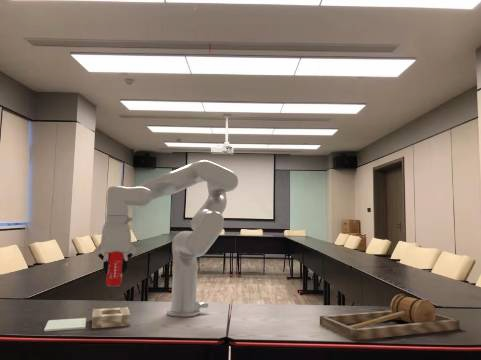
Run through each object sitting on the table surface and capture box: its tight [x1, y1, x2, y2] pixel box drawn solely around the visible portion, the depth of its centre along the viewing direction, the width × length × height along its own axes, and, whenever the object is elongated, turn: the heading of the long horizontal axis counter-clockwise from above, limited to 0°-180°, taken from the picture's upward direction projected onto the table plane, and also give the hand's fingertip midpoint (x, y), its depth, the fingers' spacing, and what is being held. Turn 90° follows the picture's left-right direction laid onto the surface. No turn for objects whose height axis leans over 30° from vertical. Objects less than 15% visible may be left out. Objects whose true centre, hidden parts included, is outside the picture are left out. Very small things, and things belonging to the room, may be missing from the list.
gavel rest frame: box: [319, 310, 461, 341], centre depth 132 cm, size 45×19×3 cm, turn 111°
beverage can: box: [105, 251, 124, 287], centre depth 132 cm, size 5×5×12 cm
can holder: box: [91, 306, 132, 329], centre depth 130 cm, size 12×12×4 cm
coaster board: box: [43, 317, 87, 333], centre depth 125 cm, size 12×12×1 cm
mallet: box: [348, 293, 437, 329], centre depth 131 cm, size 12×38×10 cm, turn 113°
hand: (114, 271), depth 132 cm, fingers closed on beverage can, 5 cm apart
